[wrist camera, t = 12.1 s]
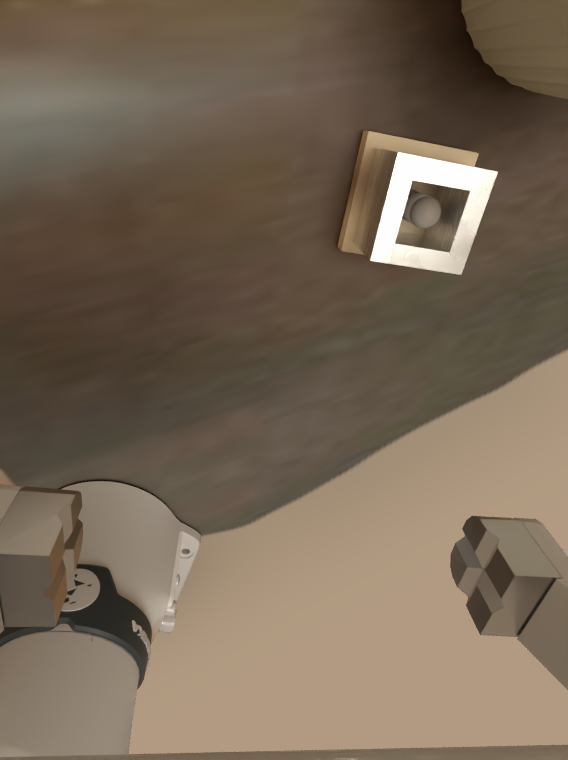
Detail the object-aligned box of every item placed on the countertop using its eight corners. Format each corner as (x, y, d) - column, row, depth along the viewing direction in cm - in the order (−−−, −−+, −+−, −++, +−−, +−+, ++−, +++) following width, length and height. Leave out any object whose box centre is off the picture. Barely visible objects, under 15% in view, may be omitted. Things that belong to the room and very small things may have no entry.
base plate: (434, 261, 38) (466, 284, 32) (337, 246, 36) (354, 267, 31) (469, 151, 34) (512, 158, 29) (363, 130, 33) (387, 133, 27)
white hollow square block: (433, 255, 36) (461, 274, 32) (353, 242, 35) (370, 260, 31) (462, 164, 33) (497, 171, 29) (375, 147, 32) (398, 152, 28)
